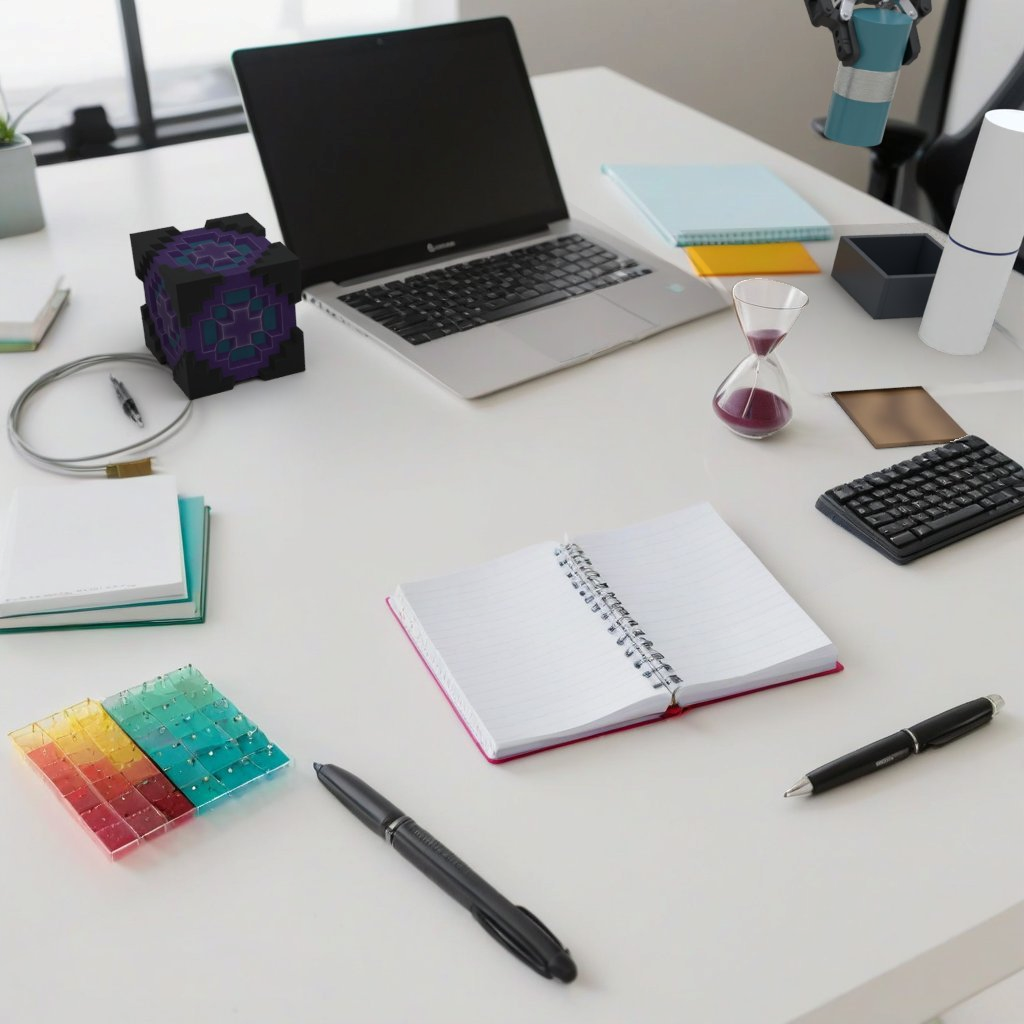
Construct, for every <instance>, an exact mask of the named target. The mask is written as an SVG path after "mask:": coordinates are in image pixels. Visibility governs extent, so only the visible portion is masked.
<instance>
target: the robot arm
mask: <svg viewBox="0 0 1024 1024" xmlns="http://www.w3.org/2000/svg"><path fill="white" fill-rule="evenodd" d="M803 2H804V5H805V8H806V9H805V10H806V12H807V16H808V18H809V21H810V24H811V25H812V26H813V27H814V28H816V29H817V28H820V27H824V28H826V29H828V31H829V32H830V33H831V34H832V39H833V45H834V49H835V54H836V57H837V60H838V62H839V61H842V65H843V67H851V66H852V65H853V64H854V63H855V62H856V61H857V60H858V59H859V58H860V50H859V45H858V40H857V35H856V30H855V25H854V22H850V21H849V20H850V19H851V16H852V12H853V10H854V9H855V6H858V5H861V4H864V5H869V6H874V8H880V9H887V10H893V11H897V12H900V13H903V14H906V15H908V16H910V17H911V18H912V19H913V23H912V27H911V31H910V35H909V38H908V42H907V46H906V50H905V54H904V58H903V61H902V65H901V67H903V66H910V65H912V63H913V62H914V61H916V60H918V57H919V54H920V53H921V50H922V47H921V42H920V38H919V32H918V28H917V27H918V26H917V25H919V24H920V22H921V21H922V20H924V19H925V18H926V17H927V16H928V15H929V14H931V12H932V9H933V6H932V5H933V4H932V0H803ZM898 9H899V10H898Z"/></svg>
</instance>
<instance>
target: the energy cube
mask: <svg viewBox="0 0 1024 1024" xmlns="http://www.w3.org/2000/svg"><path fill="white" fill-rule="evenodd" d="M266 232H267V231H266V228H265V226H264V225H262V224H261V223H260V222H259V221H258V220H257V219H255V218H254V217H253V216H252V214H250V213H249V212H243V213H237V214H231V215H227V216H221V217H215V218H210V219H206V220H205V222H204V226H203V227H199V228H194V229H193V228H192V229H187V230H181V231H180V230H179V229H178V228H177V227H175V226H174V225H171V226H165V227H160V228H155V229H148V230H143V231H138V232H132V233H129V240H130V248H131V254H132V255H131V256H132V260H133V269H134V275H135V277H136V278H137V279H138V280H140V281H141V282H142V287H143V292H144V293H143V295H144V301H145V303H144V304H142V305H141V306H139V309H140V316H141V322H142V329H143V335H144V344H145V347H147V349H148V350H149V352H151V353H152V355H153V356H154V358H155V359H156V360H157V361H158V362H159V364H160V365H163V364H167V363H168V365H170V367H171V368H172V373H171V374H172V380H173V381H174V382H175V383H176V385H177V386H178V387H179V388H180V390H181V391H182V392H183V393H184V395H185V396H186V397H187V398H188V400H189V401H193V400H195V399H200V398H203V397H207V396H212V395H216V394H219V393H222V392H223V393H224V392H227V391H230V390H233V389H234V388H235V387H234V386H235V384H236V382H238V381H242V380H246V379H251V378H254V377H258V376H259V378H261V379H262V380H263V381H264V382H266V381H270V380H273V379H277V378H282V377H285V376H290V375H293V374H297V373H301V372H306V353H305V351H306V350H305V333H304V330H302V329H301V328H300V327H299V326H297V324H298V323H297V310H296V308H297V307H296V305H297V304H298V303H300V302H302V300H303V297H302V278H301V277H302V276H301V259H300V258H299V257H298V256H297V254H295V253H294V252H293V251H291V249H290V248H289V247H287V246H286V245H285V244H283V243H282V242H281V241H275V242H271V241H270V240H269V239H268V238H267V233H266Z"/></svg>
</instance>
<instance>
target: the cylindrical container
mask: <svg viewBox="0 0 1024 1024" xmlns="http://www.w3.org/2000/svg"><path fill="white" fill-rule="evenodd" d="M981 123H982V124H981V126H980V130H979V134H978V137H977V140H976V142H975V145H974V150H973V152H972V155H971V159H970V163H969V166H968V169H967V172H966V175H965V179H964V181H963V185H962V188H961V191H960V195H959V198H958V202H957V205H956V208H955V212H954V215H953V218H952V220H951V225H950V227H949V230H948V235H947V237H946V241H945V244H944V246H943V247H944V250H943V253H942V256H941V260H940V263H939V266H938V269H937V273H936V276H935V279H934V282H933V286H932V289H931V292H930V295H929V299H928V302H927V305H926V308H925V312H924V315H923V317H921V322H920V325H919V328H918V331H917V336H918V338H919V339H920V341H921V342H923V343H924V344H925V345H926V346H928V347H930V348H931V349H934V350H936V351H939V352H942V353H945V354H949V355H954V356H974V355H978V354H980V353H982V352H983V351H984V350H985V348H986V346H987V345H986V344H987V342H988V339H989V336H990V333H991V331H992V327H993V324H994V322H995V320H996V317H997V313H998V311H999V307H1000V305H1001V302H1002V299H1003V296H1004V293H1005V290H1006V287H1007V285H1008V282H1009V279H1010V277H1011V273H1012V270H1013V268H1014V264H1015V262H1016V259H1017V256H1018V253H1019V251H1020V247H1021V245H1022V242H1023V239H1024V110H1019V109H1010V108H1007V109H1006V108H1002V109H1001V108H1000V109H999V108H998V109H992V110H989V111H986V112H985V114H984V117H983V120H982V122H981Z"/></svg>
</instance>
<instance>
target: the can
mask: <svg viewBox="0 0 1024 1024" xmlns="http://www.w3.org/2000/svg"><path fill="white" fill-rule="evenodd" d="M849 21H850V22H854V25H855V30H856V35H857V40H858V45H859V50H860V58H859V59H858V60H857V61H856V62H855V63H854V64H853V65H852V66H851V67H843V65H842V61H839V60H838V65H837V69H836V74H835V78H834V82H833V87H832V93H831V98H830V101H829V102H830V103H829V107H828V109H827V115H826V120H825V123H824V127H823V128H824V129H823V135H824V137H826V138H827V139H829V140H831V141H833V142H835V143H839V144H842V145H845V146H850V147H860V148H861V147H865V148H867V147H874V146H879V145H880V144H881V143H882V141H883V137H884V135H885V134H884V133H885V129H886V126H887V122H888V118H889V114H890V111H891V107H892V103H893V99H894V98H895V93H896V90H897V86H898V83H899V79H900V75H901V71H902V61H903V58H904V54H905V50H906V46H907V42H908V38H909V35H910V31H911V27H912V23H913V19H912V18H911V17H910V16H908V15H906V14H903V13H902V12H901V11H898V12H897V11H893V10H887V9H880V8H876V7H858V8H853V12H852V16H851V19H850V20H849Z"/></svg>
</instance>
